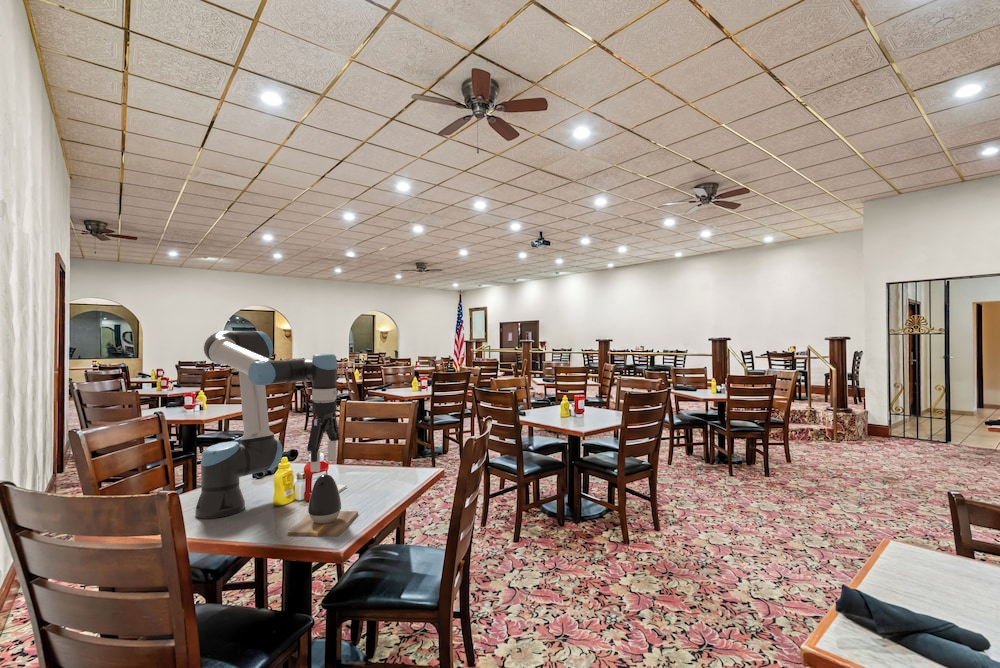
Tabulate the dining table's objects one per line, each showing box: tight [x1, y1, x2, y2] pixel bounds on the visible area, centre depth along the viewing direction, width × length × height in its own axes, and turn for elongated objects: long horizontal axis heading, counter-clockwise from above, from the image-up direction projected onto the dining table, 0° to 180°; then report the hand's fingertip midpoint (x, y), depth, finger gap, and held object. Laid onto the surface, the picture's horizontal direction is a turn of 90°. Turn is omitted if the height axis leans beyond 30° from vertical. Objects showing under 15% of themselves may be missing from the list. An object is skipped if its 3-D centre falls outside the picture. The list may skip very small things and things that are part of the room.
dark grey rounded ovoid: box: [307, 473, 342, 524], centre depth 156 cm, size 10×10×15 cm
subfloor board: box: [287, 510, 359, 537], centre depth 156 cm, size 16×18×1 cm
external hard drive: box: [336, 484, 348, 493], centre depth 188 cm, size 2×8×12 cm
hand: (324, 465), depth 156 cm, fingers open, 13 cm apart
